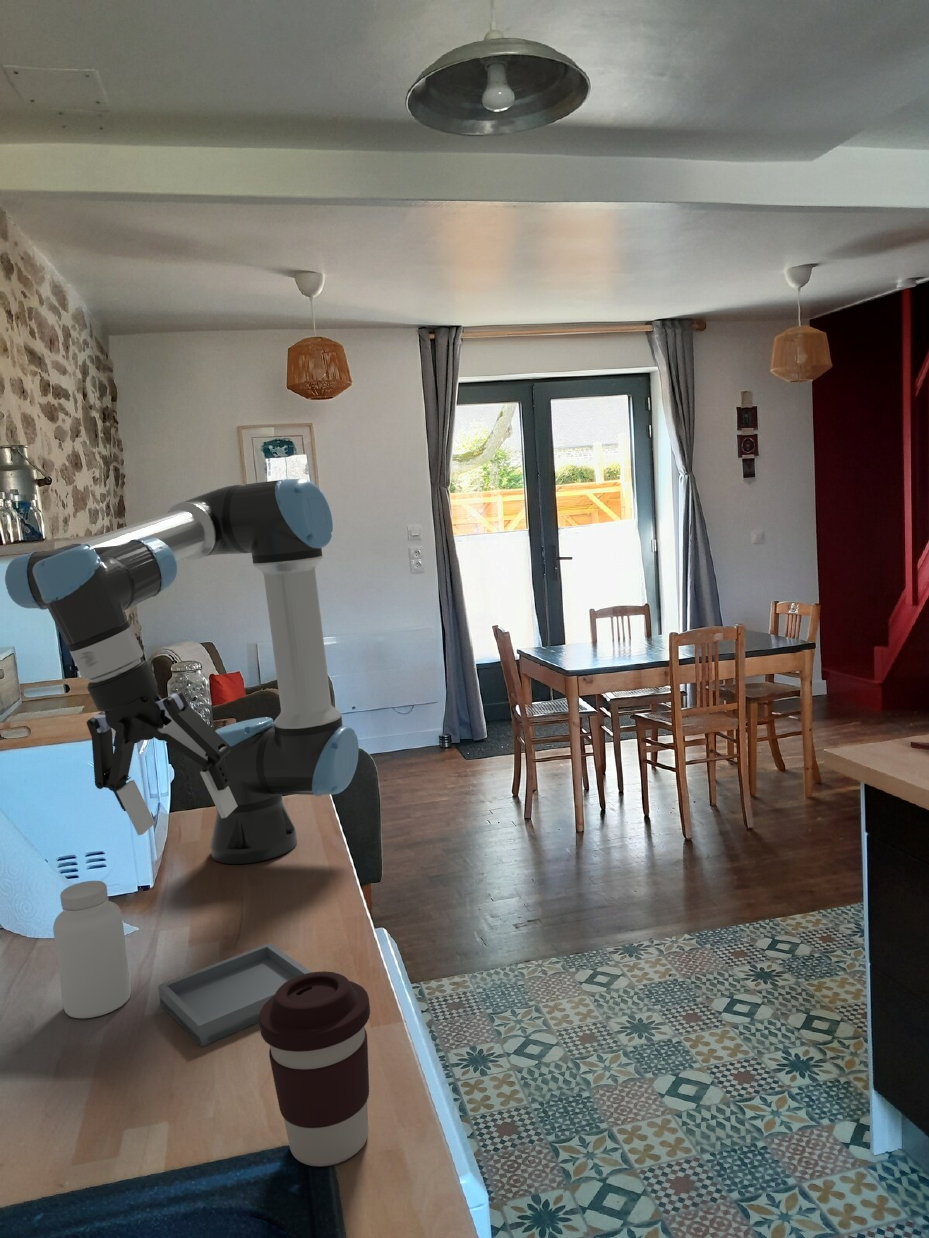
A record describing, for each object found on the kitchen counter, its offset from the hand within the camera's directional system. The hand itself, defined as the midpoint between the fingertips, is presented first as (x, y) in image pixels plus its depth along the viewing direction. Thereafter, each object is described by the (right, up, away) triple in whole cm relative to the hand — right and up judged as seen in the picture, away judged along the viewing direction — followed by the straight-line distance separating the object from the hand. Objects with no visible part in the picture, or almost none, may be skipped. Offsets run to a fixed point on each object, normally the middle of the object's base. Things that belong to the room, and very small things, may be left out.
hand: (187, 821), depth 117 cm
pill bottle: (-11, -23, -2) cm, 25 cm away
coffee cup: (+23, -23, -32) cm, 45 cm away
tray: (+8, -21, -4) cm, 23 cm away
